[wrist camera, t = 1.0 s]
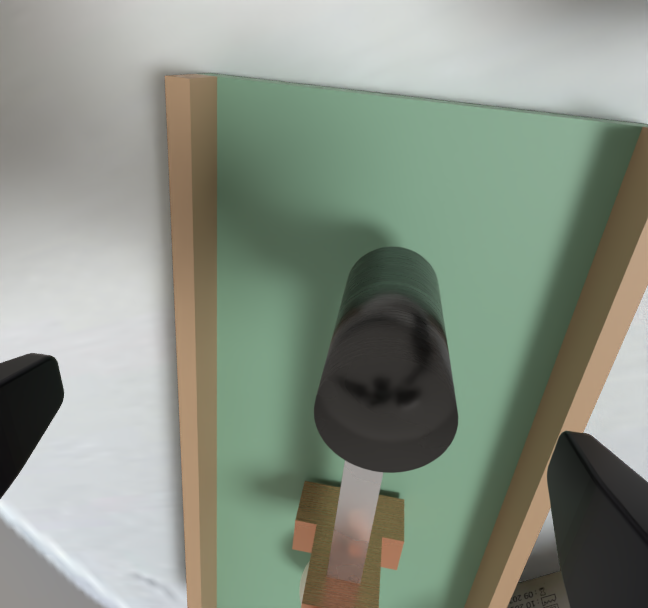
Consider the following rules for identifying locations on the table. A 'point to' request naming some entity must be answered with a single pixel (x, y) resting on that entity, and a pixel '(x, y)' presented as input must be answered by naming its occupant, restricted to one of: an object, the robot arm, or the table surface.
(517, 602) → the surgical sutures box
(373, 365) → the rod
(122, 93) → the table surface
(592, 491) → the robot arm
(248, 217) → the pitch
